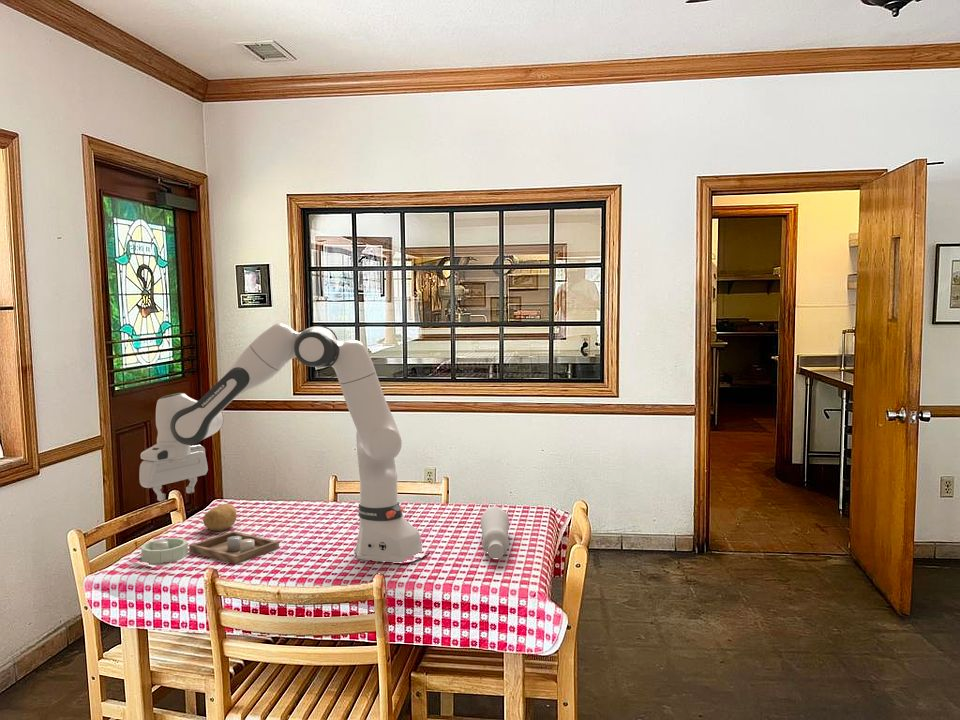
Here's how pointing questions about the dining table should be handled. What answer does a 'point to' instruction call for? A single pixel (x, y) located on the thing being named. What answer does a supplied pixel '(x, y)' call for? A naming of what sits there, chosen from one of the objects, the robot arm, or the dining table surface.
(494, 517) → the bottle
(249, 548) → the pebble
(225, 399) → the robot arm
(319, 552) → the dining table surface
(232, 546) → the pebble
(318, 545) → the dining table surface
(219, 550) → the tray
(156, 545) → the pebble
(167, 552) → the bowl
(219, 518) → the potato
